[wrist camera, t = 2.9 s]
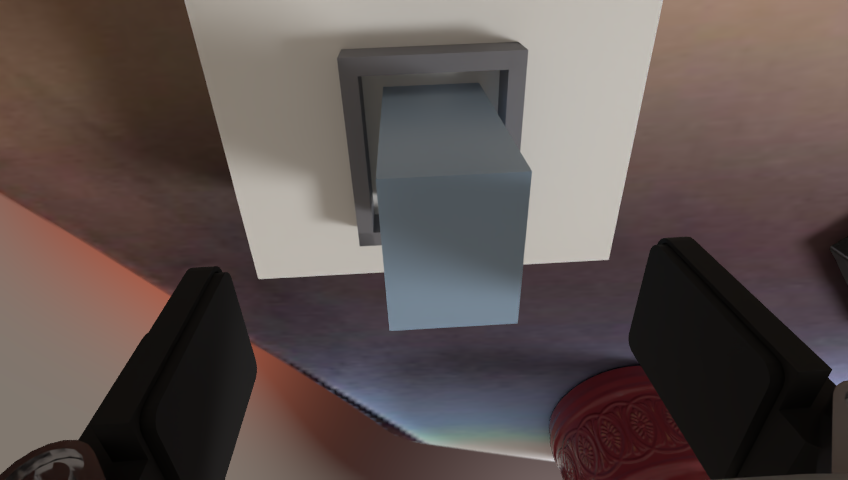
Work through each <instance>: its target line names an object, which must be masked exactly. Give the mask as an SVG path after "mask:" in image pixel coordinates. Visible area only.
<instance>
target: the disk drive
mask: <svg viewBox="0 0 848 480" xmlns="http://www.w3.org/2000/svg"><path fill="white" fill-rule="evenodd" d="M830 250H831V252H832V254H833V256H834V258H835V259H836V261H837V265H838V267H839V269H840V271H841V273H842V275H843V277H844V279H845V281H846V283H847V285H848V237H846V238H845V239H843V240H841V241H839V242H838V243H836V244H834V245H832V246H831V247H830Z"/></svg>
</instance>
